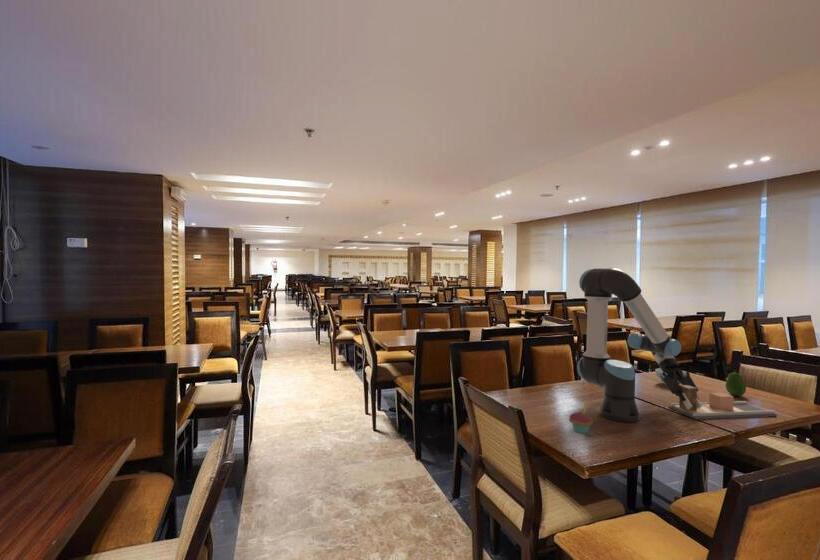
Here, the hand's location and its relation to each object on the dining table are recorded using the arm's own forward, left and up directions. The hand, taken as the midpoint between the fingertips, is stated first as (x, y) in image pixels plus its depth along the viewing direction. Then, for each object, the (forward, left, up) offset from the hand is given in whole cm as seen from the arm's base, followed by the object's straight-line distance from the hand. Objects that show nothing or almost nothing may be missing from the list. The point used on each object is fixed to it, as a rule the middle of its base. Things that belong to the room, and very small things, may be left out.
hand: (694, 407), depth 170 cm
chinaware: (0, +55, -4) cm, 55 cm away
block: (+12, +11, -2) cm, 17 cm away
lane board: (+12, +11, -4) cm, 17 cm away
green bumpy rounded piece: (+26, +44, -4) cm, 51 cm away
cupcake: (-45, -39, -4) cm, 60 cm away
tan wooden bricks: (+7, +8, -3) cm, 11 cm away
